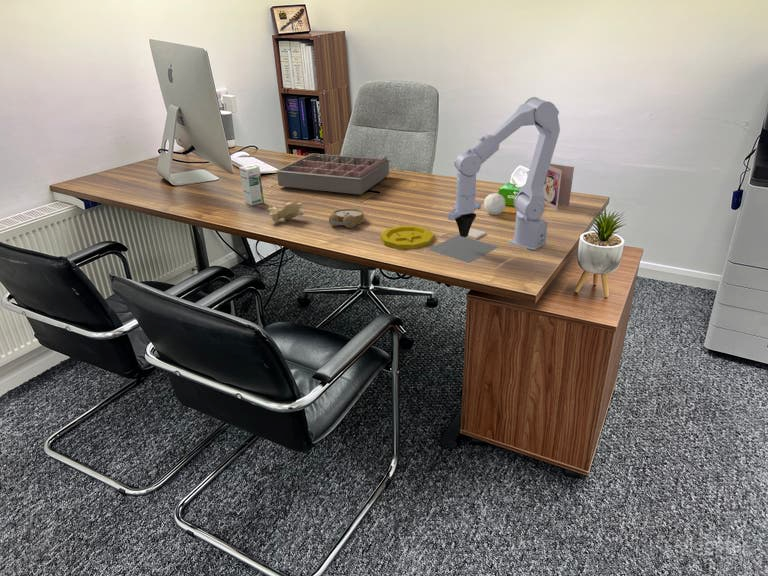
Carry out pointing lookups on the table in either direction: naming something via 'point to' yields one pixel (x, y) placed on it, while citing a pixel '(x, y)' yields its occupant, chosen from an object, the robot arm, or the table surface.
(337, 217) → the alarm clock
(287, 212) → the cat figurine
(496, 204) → the geometric ball
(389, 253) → the table surface
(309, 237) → the table surface
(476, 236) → the tile
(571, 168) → the greeting card
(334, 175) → the organizer tray
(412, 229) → the decorative disc
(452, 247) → the mat
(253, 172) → the syrup box
